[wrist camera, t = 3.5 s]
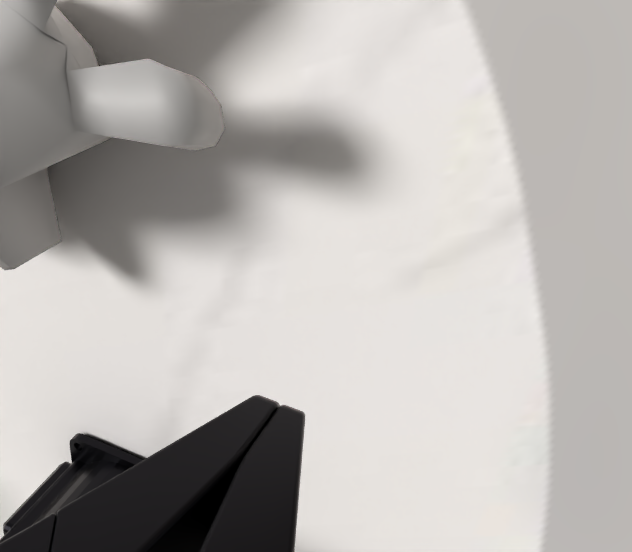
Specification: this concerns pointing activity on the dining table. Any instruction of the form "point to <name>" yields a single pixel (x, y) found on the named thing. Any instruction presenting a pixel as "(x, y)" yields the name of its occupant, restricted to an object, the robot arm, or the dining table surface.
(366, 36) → the dining table surface
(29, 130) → the white rounded figure
